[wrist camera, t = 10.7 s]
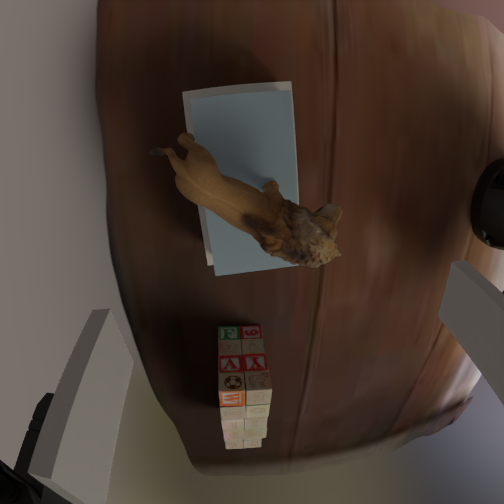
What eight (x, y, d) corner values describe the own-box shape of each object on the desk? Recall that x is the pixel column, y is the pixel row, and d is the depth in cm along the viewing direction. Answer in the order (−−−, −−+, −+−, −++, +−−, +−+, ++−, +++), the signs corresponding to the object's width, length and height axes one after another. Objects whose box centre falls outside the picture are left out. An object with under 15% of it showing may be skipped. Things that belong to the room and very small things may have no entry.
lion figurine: (324, 187, 26) (367, 226, 18) (297, 238, 28) (326, 294, 20) (162, 121, 22) (131, 131, 14) (141, 181, 24) (106, 219, 16)
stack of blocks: (255, 407, 54) (263, 462, 43) (222, 408, 53) (225, 464, 42) (260, 323, 44) (273, 390, 33) (217, 325, 44) (218, 392, 33)
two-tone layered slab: (281, 84, 30) (301, 78, 22) (290, 235, 38) (309, 272, 30) (187, 94, 29) (176, 89, 21) (209, 245, 38) (206, 286, 30)
